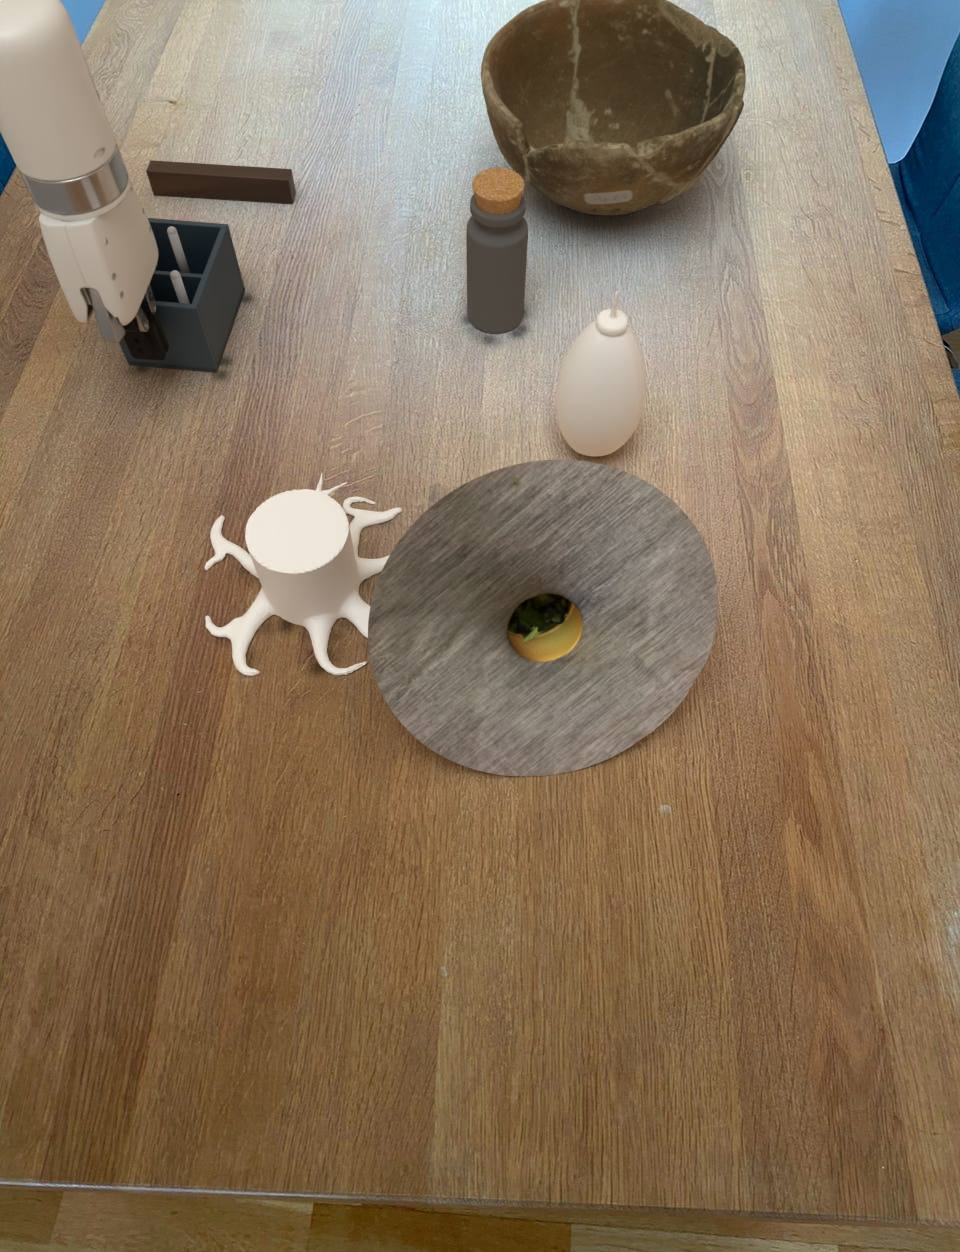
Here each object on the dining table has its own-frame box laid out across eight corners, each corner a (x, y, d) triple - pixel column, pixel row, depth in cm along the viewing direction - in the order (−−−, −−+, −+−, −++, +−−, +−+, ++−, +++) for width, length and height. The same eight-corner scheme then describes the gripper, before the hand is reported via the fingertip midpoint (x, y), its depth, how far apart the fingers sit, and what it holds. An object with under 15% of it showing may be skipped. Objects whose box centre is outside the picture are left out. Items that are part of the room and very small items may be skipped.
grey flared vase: (689, 678, 84) (657, 400, 76) (746, 771, 68) (714, 429, 60) (416, 726, 85) (356, 456, 77) (406, 829, 69) (328, 500, 61)
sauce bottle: (639, 475, 87) (675, 324, 71) (555, 479, 87) (573, 329, 71) (626, 411, 91) (658, 255, 75) (546, 415, 91) (561, 259, 75)
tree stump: (446, 513, 85) (443, 454, 78) (392, 704, 75) (384, 657, 68) (234, 476, 87) (213, 415, 80) (156, 658, 77) (124, 607, 70)
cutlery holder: (216, 372, 93) (191, 296, 85) (128, 364, 94) (95, 288, 85) (245, 289, 99) (224, 210, 91) (162, 282, 100) (134, 203, 91)
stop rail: (292, 204, 106) (288, 180, 103) (153, 195, 107) (145, 171, 104) (296, 192, 107) (291, 168, 104) (158, 184, 108) (150, 160, 105)
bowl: (651, 308, 98) (678, 177, 85) (435, 218, 105) (429, 85, 92) (757, 167, 110) (795, 34, 97) (556, 95, 117) (566, -39, 104)
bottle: (527, 298, 99) (535, 166, 86) (518, 337, 96) (525, 207, 83) (472, 291, 99) (472, 159, 86) (462, 330, 96) (460, 200, 83)
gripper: (60, 115, 77) (135, 297, 92) (-7, 234, 69) (88, 410, 85) (149, 119, 76) (210, 301, 92) (92, 239, 69) (169, 415, 84)
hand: (151, 353), depth 88 cm, fingers closed
